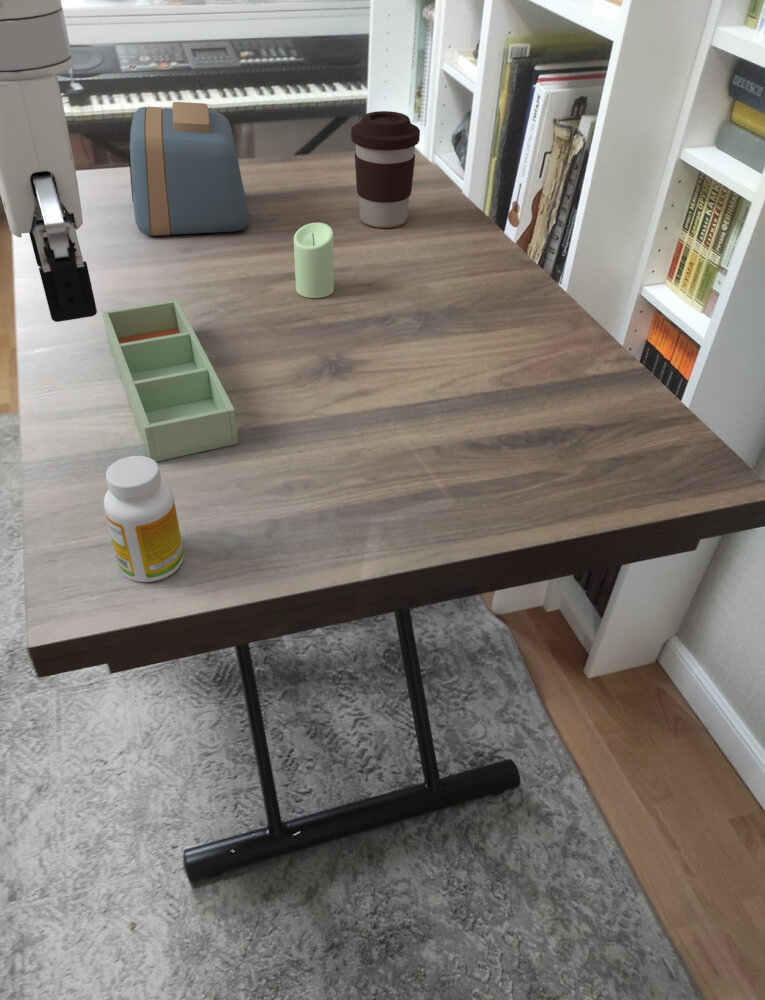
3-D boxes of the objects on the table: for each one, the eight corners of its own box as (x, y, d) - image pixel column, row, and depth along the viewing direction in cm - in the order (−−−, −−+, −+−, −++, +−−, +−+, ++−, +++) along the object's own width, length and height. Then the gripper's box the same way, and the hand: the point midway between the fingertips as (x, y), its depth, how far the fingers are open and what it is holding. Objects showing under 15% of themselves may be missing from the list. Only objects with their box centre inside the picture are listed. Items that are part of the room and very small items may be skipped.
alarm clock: (140, 200, 133) (122, 92, 122) (243, 195, 135) (234, 89, 125) (137, 241, 120) (117, 125, 110) (251, 235, 123) (242, 121, 113)
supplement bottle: (192, 542, 72) (176, 452, 66) (174, 587, 68) (156, 495, 62) (131, 537, 73) (110, 446, 66) (109, 581, 68) (85, 489, 62)
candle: (322, 302, 107) (320, 240, 102) (288, 293, 109) (285, 232, 104) (340, 287, 111) (340, 226, 105) (308, 278, 112) (306, 219, 107)
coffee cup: (354, 233, 124) (355, 128, 115) (348, 209, 132) (348, 107, 122) (420, 232, 126) (425, 127, 116) (410, 207, 133) (414, 107, 123)
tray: (151, 463, 81) (144, 428, 78) (108, 343, 98) (101, 311, 95) (238, 443, 83) (235, 409, 81) (182, 330, 101) (177, 299, 98)
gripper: (-59, 19, 58) (5, 252, 69) (-52, 79, 46) (26, 350, 57) (52, 13, 61) (98, 240, 72) (87, 69, 49) (136, 332, 60)
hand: (66, 289), depth 65 cm, fingers open, 9 cm apart
